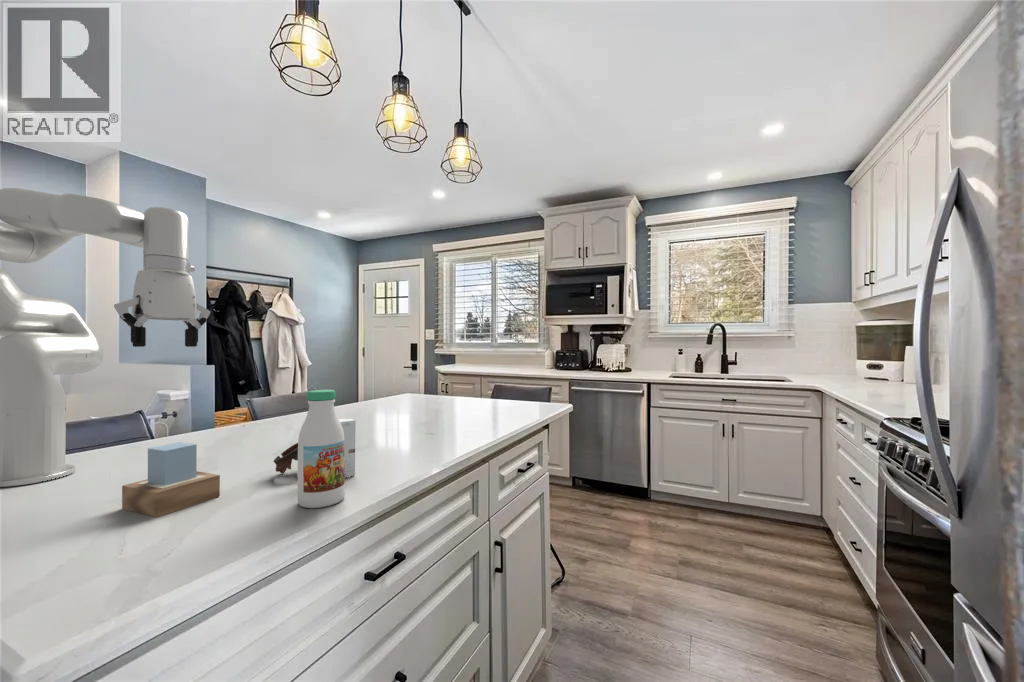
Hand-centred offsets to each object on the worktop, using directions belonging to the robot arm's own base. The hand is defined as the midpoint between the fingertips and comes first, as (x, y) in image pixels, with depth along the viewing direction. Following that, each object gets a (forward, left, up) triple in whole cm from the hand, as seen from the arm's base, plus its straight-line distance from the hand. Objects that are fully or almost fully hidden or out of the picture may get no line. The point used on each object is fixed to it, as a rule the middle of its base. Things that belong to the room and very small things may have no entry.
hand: (166, 346), depth 88 cm
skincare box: (+34, +14, -28) cm, 47 cm away
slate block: (+17, -8, -24) cm, 31 cm away
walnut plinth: (+17, -8, -28) cm, 34 cm away
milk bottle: (+42, +2, -28) cm, 51 cm away
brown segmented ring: (+25, +14, -29) cm, 40 cm away
